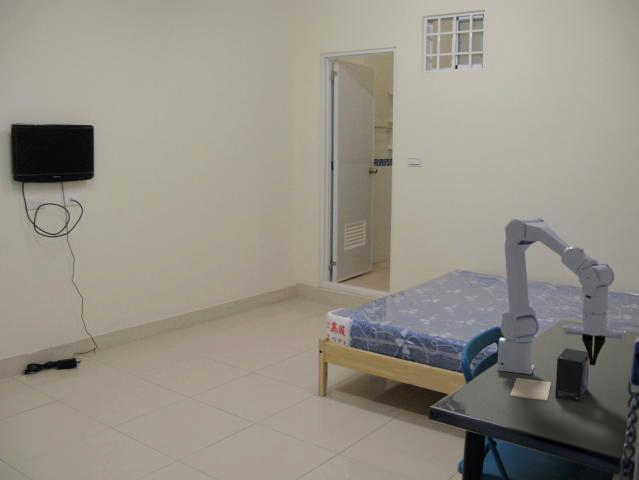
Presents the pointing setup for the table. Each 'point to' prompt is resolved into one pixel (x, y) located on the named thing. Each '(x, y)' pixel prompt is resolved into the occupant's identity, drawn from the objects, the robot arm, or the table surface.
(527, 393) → the mat
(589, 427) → the table surface
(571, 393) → the small box
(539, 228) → the robot arm
